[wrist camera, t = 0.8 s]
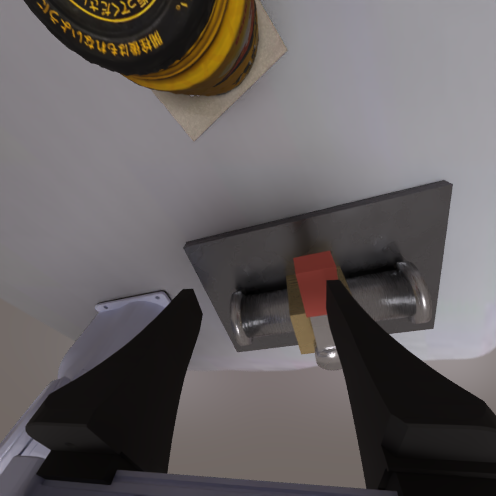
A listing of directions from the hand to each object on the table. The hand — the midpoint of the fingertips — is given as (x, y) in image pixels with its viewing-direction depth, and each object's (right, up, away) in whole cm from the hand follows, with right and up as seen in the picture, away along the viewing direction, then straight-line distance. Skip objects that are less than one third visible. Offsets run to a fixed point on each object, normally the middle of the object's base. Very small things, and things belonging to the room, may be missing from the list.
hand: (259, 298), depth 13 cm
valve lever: (+5, -2, +4) cm, 6 cm away
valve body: (+6, -1, +12) cm, 13 cm away
